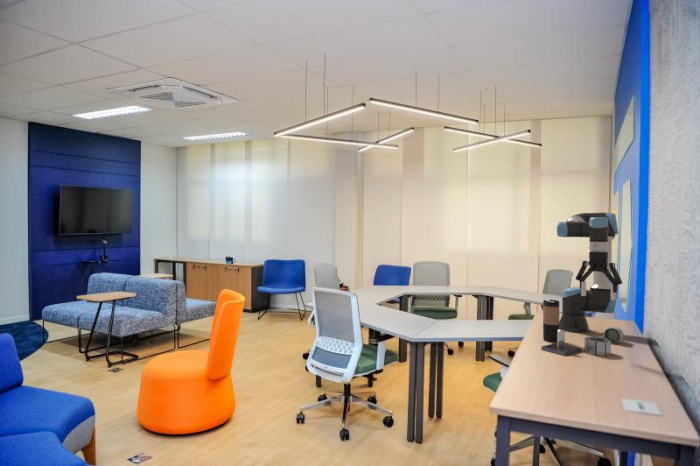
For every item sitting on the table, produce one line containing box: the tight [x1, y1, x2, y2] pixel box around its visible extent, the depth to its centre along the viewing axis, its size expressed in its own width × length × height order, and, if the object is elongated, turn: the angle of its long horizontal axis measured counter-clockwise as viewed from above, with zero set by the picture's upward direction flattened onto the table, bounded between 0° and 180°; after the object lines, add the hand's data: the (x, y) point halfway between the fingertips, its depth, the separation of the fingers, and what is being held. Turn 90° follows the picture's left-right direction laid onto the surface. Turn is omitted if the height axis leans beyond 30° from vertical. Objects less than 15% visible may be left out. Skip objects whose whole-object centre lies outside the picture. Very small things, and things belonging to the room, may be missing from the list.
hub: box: [584, 336, 612, 357], centre depth 213 cm, size 10×10×6 cm
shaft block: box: [540, 329, 582, 357], centre depth 217 cm, size 12×12×10 cm
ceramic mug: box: [599, 326, 624, 344], centre depth 233 cm, size 11×8×8 cm
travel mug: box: [542, 299, 560, 343], centre depth 235 cm, size 8×8×20 cm
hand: (597, 297), depth 213 cm, fingers open, 13 cm apart
